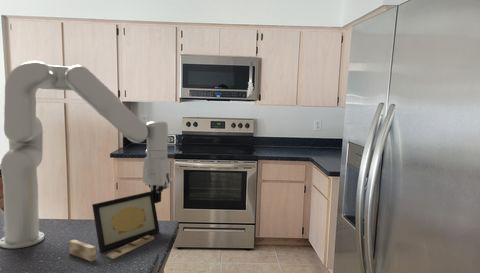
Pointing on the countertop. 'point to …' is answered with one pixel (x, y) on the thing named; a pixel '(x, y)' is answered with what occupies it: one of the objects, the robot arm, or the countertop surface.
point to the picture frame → (125, 219)
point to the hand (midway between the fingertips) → (156, 202)
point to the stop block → (82, 250)
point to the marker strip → (129, 247)
